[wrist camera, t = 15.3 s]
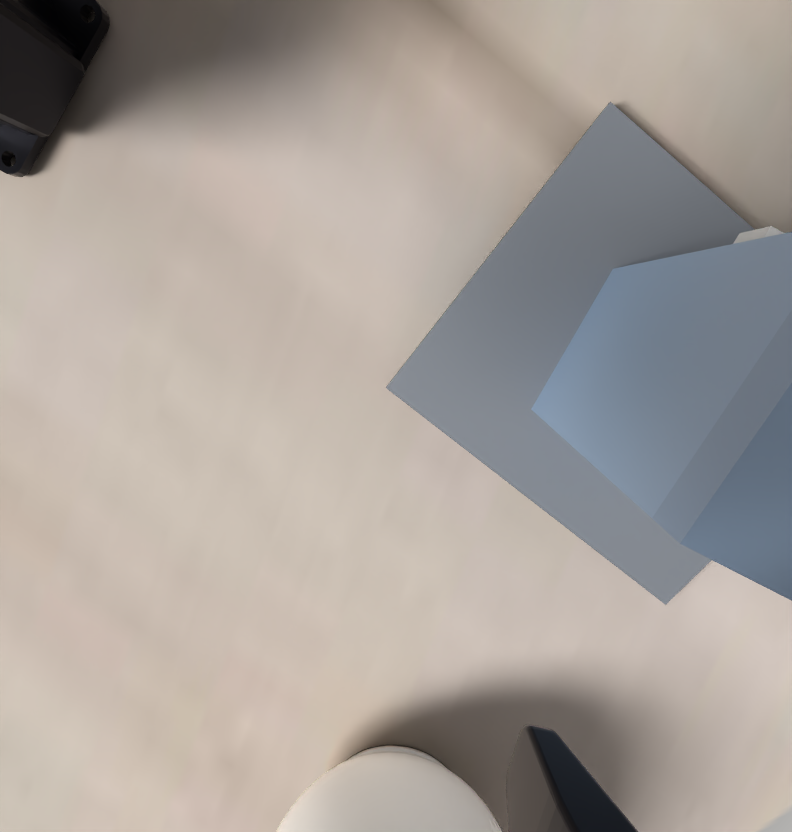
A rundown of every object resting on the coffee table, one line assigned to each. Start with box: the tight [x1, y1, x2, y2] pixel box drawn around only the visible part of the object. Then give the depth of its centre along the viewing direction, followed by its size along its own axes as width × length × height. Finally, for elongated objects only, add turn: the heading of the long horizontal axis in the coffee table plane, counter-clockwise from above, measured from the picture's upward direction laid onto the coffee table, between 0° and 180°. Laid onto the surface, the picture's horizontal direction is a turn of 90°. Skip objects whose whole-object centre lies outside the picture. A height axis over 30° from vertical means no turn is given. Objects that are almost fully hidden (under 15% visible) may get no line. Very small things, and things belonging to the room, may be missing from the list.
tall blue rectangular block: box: [531, 226, 792, 600], centre depth 13 cm, size 8×6×11 cm
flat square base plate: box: [386, 102, 755, 605], centre depth 17 cm, size 14×12×4 cm
